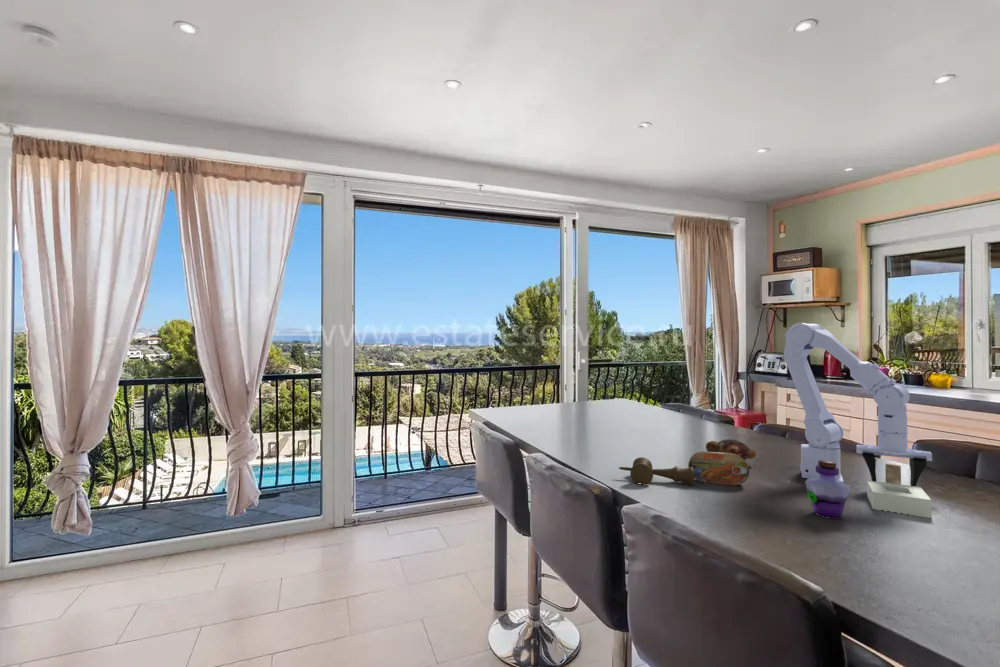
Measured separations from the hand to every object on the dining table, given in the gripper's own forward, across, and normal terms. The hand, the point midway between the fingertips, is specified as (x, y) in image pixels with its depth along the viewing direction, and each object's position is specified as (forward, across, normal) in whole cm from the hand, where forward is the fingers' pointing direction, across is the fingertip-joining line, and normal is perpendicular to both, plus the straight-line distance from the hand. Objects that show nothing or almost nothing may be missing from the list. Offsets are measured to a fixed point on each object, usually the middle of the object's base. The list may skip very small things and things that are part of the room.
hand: (893, 484), depth 117 cm
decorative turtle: (+2, -38, +6) cm, 39 cm away
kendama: (+2, -54, -22) cm, 58 cm away
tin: (+2, -39, -14) cm, 41 cm away
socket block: (+2, -1, -12) cm, 12 cm away
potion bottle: (+2, -15, -26) cm, 30 cm away
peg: (+2, 0, 0) cm, 2 cm away
